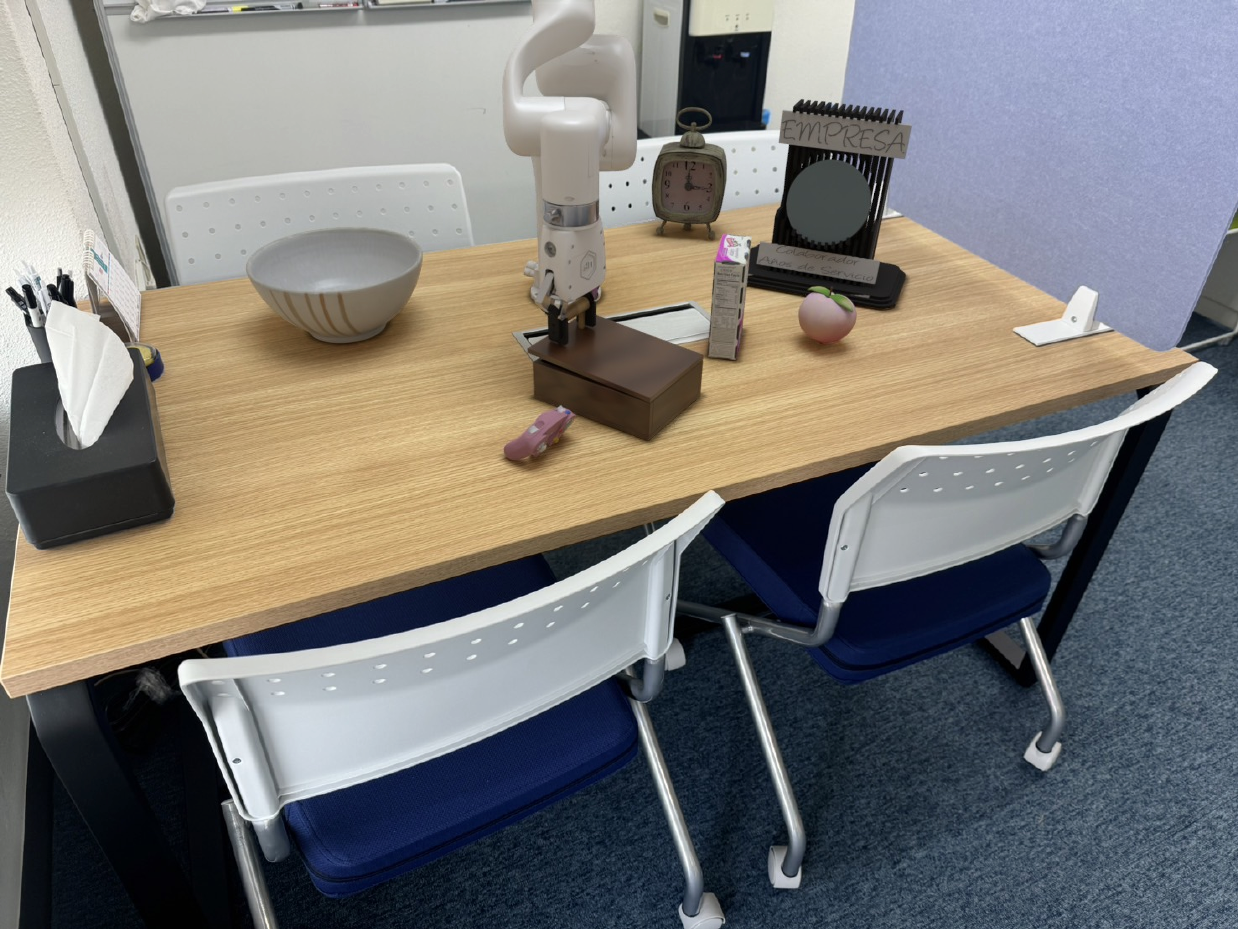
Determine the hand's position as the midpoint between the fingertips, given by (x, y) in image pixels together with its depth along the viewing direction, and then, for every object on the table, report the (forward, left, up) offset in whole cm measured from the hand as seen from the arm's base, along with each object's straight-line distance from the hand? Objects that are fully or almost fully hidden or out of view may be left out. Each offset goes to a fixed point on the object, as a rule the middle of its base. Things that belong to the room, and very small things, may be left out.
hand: (572, 331), depth 125 cm
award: (+15, +58, -8) cm, 61 cm away
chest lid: (+8, 0, -2) cm, 8 cm away
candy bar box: (+13, +24, -8) cm, 29 cm away
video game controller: (+7, -17, -8) cm, 20 cm away
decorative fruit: (+26, +33, -8) cm, 43 cm away
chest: (+8, 0, -8) cm, 12 cm away
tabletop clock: (-17, +64, -8) cm, 67 cm away
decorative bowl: (-41, -7, -8) cm, 42 cm away
